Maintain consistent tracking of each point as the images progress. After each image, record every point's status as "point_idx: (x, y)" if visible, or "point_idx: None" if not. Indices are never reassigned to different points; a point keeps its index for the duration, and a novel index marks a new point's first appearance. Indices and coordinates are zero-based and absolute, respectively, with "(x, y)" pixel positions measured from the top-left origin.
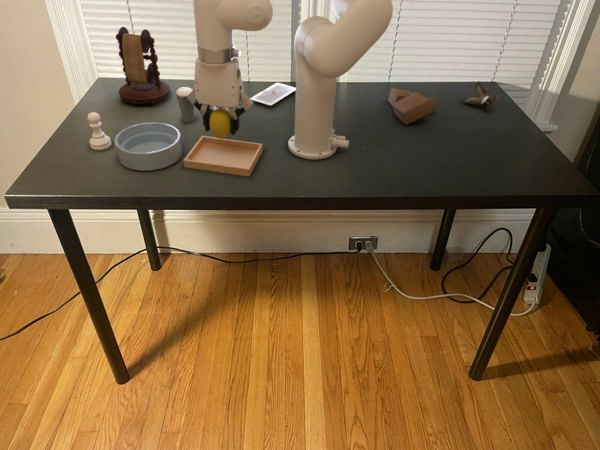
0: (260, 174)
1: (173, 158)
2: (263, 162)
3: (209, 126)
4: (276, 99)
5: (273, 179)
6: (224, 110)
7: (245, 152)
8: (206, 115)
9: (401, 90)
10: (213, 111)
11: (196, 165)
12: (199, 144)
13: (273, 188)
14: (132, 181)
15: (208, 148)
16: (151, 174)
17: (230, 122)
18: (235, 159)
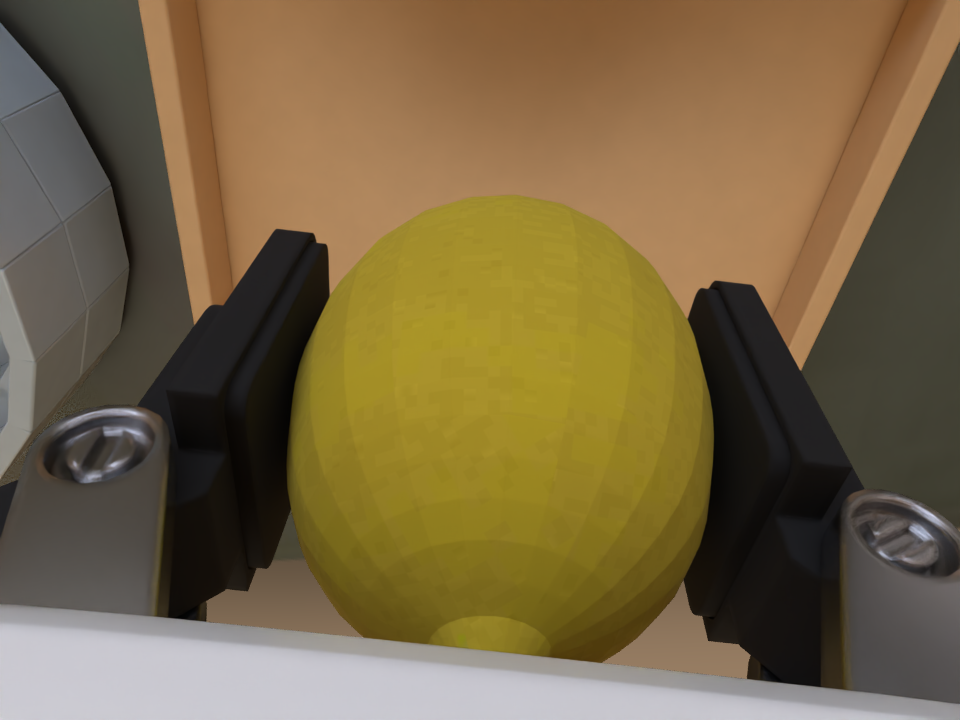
0: (847, 351)
1: (103, 330)
2: (910, 175)
3: None
4: None
5: (943, 398)
6: (589, 648)
7: (735, 42)
8: (237, 566)
9: None
10: (346, 616)
11: None
12: (181, 16)
13: (916, 482)
14: (12, 481)
15: (298, 13)
16: (63, 416)
17: (687, 580)
18: (630, 199)
